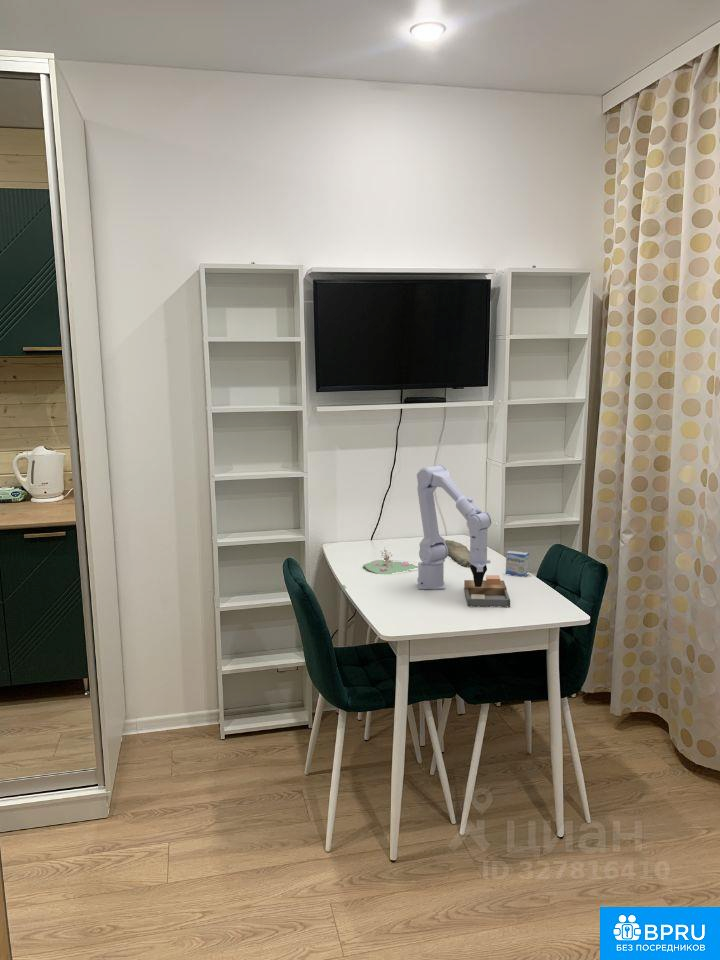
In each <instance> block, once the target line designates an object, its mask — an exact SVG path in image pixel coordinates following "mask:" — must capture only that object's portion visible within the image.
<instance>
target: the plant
mask: <svg viewBox="0 0 720 960" xmlns="http://www.w3.org/2000/svg"><path fill="white" fill-rule="evenodd" d="M380 553H381V556H380V557H381V558H383V559H381V558H380V559H375V560H372V561H370V563H369V562H367V563H364V564H363V567H364V568H365V569H366V570H368V571H369V572H371V573H373V574H378V575H393V574H392V573H396V572H403V571H407V570H409V569H414V568H418V566H415V565H413V564H409V563H408V562H409V561H403V563H402V562H393V561H394V560H390V557H393V554H390V552H388V550H386V548H384V550H383V551H382V550H380ZM389 555H390V556H389ZM384 560H385V561H384Z"/></svg>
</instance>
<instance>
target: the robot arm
mask: <svg viewBox="0 0 720 960" xmlns="http://www.w3.org/2000/svg"><path fill="white" fill-rule="evenodd" d="M416 479H417V487H416V488H417V496H418V503H419V510H420V515H421V516H420V517H421V523H422V531H423V538H422V540H421V541H420V542H419V549H418V550H419V551H418V557H419V559H420V561H421V562H417V563H418V570H417V571H418V574H417V575H418V577H417V583H418V585H417V587H418V590H445V589H446V584H445V581H444V579H445V576H444V572H445V571H444V568H445V567H444V566H445V564H444V563H445V562H446V559H447V557H448V548H447V546H446V544H445V540H446V539H445V538H444V537H442V536H441V535H440V532H439V525H438V524H439V523H438V517H437V510H436V503H435V498H434V497H435V496H434V495H435V494H434V491H436V489H437V488H442V489H443V490H444V491H445V493H447V494H448V496H449V497H451V498H452V500H453V501H454V502H455V508H456V509H457V510H458V512H459V513H460V514H461V515H462V517H464V519H465V520H466V527H467V528H468V533H469V536H470V538H469V539H470V540H469V541H470V545H469V546H470V547H469V551H470V560H469V563H470V564H472V565H470V567H469V569H470V571H471V573H472V576H473V580H474V584H475V587H481V586H482V582H483V580H484V577H485V575H486V572H487V570H488V567H487V564H491V560H490V559H488V529H489V528H490V527H491V525H492V518H491V516H490V514H489V512H486V511H483V510H482V509H480V508H479V506H478V505H476V504H475V502H474V501H473V500H474V499H473V498H472V497H470V496H468V495H467V496H466V495H464V494H463V493H462V491H461V490H460V489H459V487H458V485H456V483H455V482H454V480H453V479H452V478H451V472H450V471H449V470H448V468H447V467H446V466H444V465H443V464H438V465H435V466H427V467H422V468H420V469H419V470H418V472H417V474H416Z"/></svg>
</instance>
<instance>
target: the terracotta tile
mask: <svg viewBox="0 0 720 960" xmlns="http://www.w3.org/2000/svg"><path fill="white" fill-rule="evenodd" d="M485 575H486V577H485V578H486V579H485V580H486V582H487V584H500V580H501V577H500V575H499V574H498V575H496V574H488V575H487V574H485Z"/></svg>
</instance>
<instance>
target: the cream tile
mask: <svg viewBox="0 0 720 960" xmlns="http://www.w3.org/2000/svg"><path fill="white" fill-rule="evenodd" d="M471 599H485V595H481V594H471Z"/></svg>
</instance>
